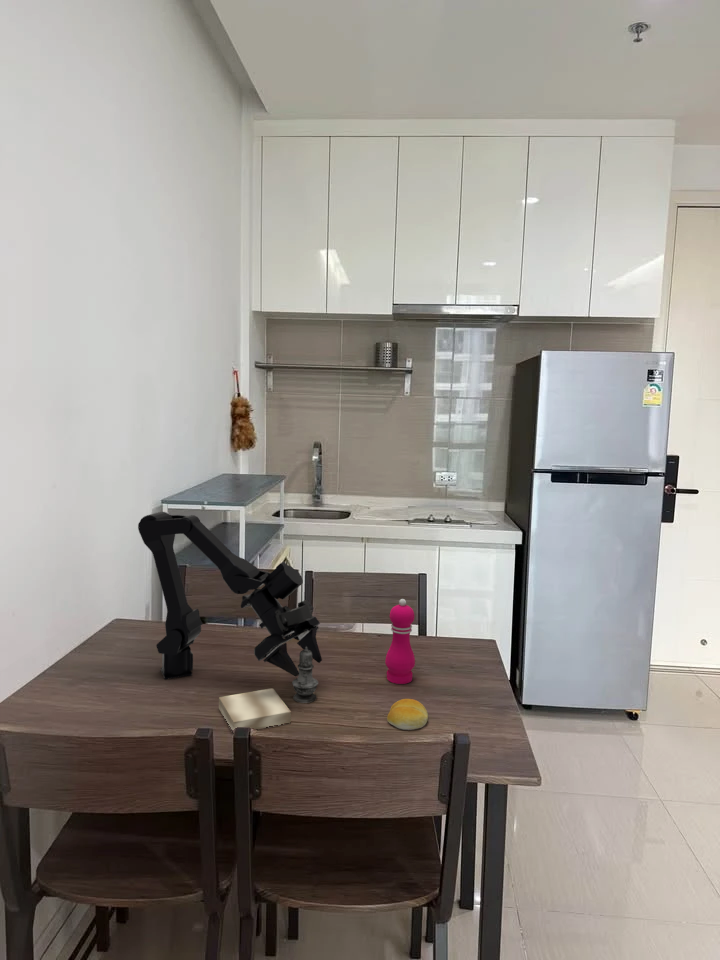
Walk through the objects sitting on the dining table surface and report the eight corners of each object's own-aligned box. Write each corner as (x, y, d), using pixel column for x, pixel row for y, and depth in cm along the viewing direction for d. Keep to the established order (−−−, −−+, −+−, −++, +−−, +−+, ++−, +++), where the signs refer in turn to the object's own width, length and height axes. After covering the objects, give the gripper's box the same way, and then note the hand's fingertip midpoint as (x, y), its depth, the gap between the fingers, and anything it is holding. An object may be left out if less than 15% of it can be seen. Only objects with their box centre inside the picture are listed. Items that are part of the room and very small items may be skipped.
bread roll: (384, 728, 132) (385, 710, 132) (392, 709, 141) (393, 692, 141) (424, 734, 130) (425, 716, 130) (430, 715, 139) (431, 697, 139)
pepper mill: (378, 678, 157) (381, 598, 154) (397, 670, 162) (400, 592, 160) (401, 687, 152) (404, 605, 150) (420, 679, 157) (423, 599, 155)
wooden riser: (233, 734, 128) (233, 722, 127) (218, 708, 138) (218, 697, 138) (290, 723, 133) (290, 711, 133) (272, 699, 144) (272, 688, 143)
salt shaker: (313, 704, 141) (315, 652, 140) (288, 701, 143) (289, 649, 141) (320, 693, 147) (322, 643, 146) (296, 690, 148) (297, 640, 147)
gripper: (265, 601, 136) (308, 662, 132) (313, 582, 153) (353, 636, 149) (236, 630, 141) (276, 690, 137) (286, 609, 157) (323, 662, 153)
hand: (309, 668), depth 144 cm, fingers open, 9 cm apart
